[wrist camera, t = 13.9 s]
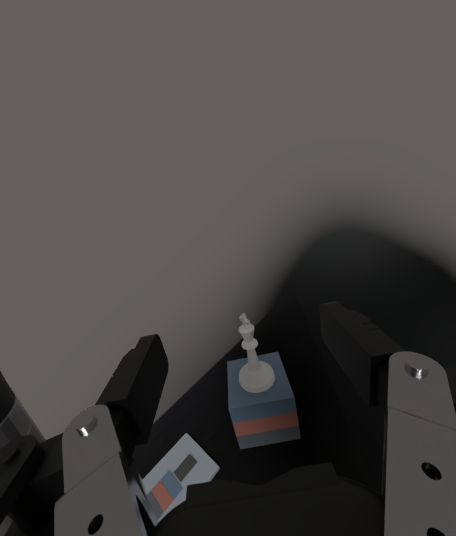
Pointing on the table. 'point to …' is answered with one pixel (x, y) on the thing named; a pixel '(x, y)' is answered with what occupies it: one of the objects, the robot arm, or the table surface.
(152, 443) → the table surface
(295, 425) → the brick tower
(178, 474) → the picture card
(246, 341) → the chess piece
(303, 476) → the robot arm
